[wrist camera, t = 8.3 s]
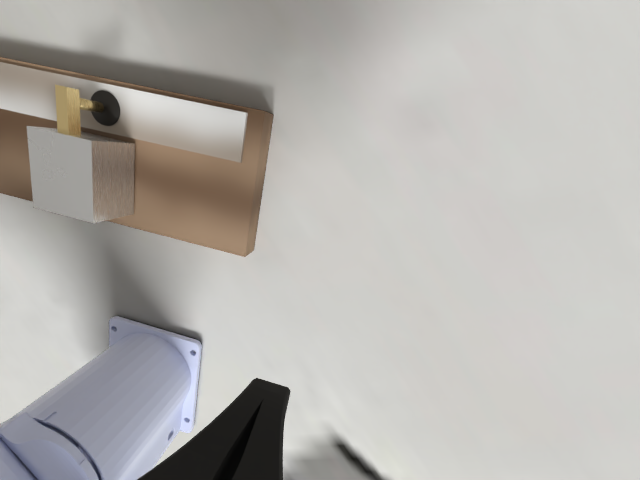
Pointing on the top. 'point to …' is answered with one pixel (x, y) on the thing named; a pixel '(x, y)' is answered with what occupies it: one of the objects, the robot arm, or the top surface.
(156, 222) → the gauge board
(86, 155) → the block
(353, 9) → the top surface
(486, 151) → the top surface
